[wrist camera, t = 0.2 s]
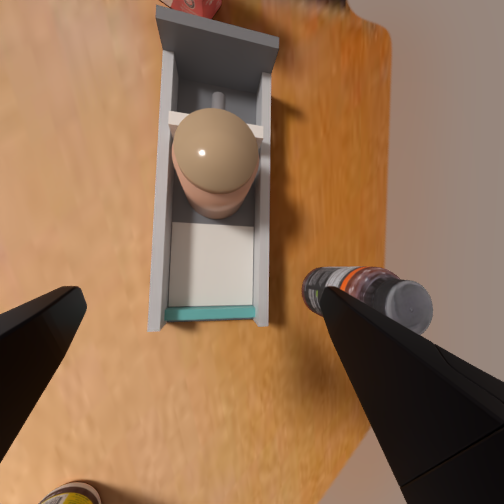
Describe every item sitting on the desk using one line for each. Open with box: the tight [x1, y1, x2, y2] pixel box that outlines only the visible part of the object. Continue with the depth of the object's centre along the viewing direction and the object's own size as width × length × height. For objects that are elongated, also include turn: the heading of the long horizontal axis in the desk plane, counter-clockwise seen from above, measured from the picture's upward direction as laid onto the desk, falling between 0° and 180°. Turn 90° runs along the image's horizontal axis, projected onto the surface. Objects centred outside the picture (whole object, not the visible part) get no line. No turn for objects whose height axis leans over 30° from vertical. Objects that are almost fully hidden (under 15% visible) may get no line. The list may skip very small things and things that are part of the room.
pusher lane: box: [147, 5, 279, 332], centre depth 19 cm, size 28×11×6 cm, turn 179°
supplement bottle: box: [302, 267, 433, 335], centre depth 19 cm, size 6×6×11 cm
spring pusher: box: [168, 92, 263, 150], centre depth 20 cm, size 5×8×4 cm, turn 89°
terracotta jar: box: [172, 108, 259, 219], centre depth 18 cm, size 7×7×8 cm
